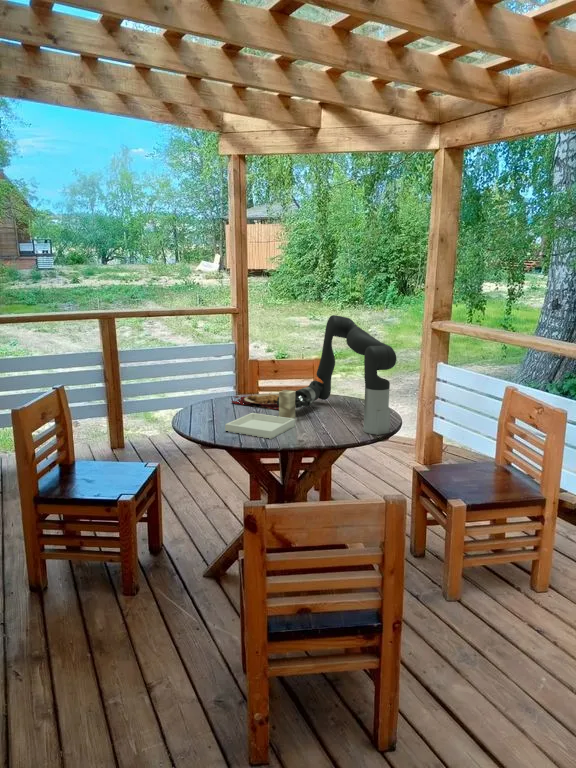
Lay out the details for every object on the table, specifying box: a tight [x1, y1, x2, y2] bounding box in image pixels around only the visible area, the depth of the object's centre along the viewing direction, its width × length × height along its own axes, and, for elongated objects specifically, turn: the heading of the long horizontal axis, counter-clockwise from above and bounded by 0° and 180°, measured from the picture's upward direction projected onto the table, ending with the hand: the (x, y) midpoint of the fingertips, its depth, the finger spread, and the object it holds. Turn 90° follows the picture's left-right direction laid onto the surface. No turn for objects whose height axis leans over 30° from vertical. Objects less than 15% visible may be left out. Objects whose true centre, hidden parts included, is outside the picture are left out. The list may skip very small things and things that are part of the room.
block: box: [278, 389, 296, 420], centre depth 227 cm, size 5×5×12 cm
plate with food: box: [231, 393, 279, 410], centre depth 260 cm, size 25×26×4 cm
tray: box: [224, 412, 296, 440], centre depth 215 cm, size 20×20×3 cm
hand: (287, 404), depth 227 cm, fingers open, 8 cm apart
